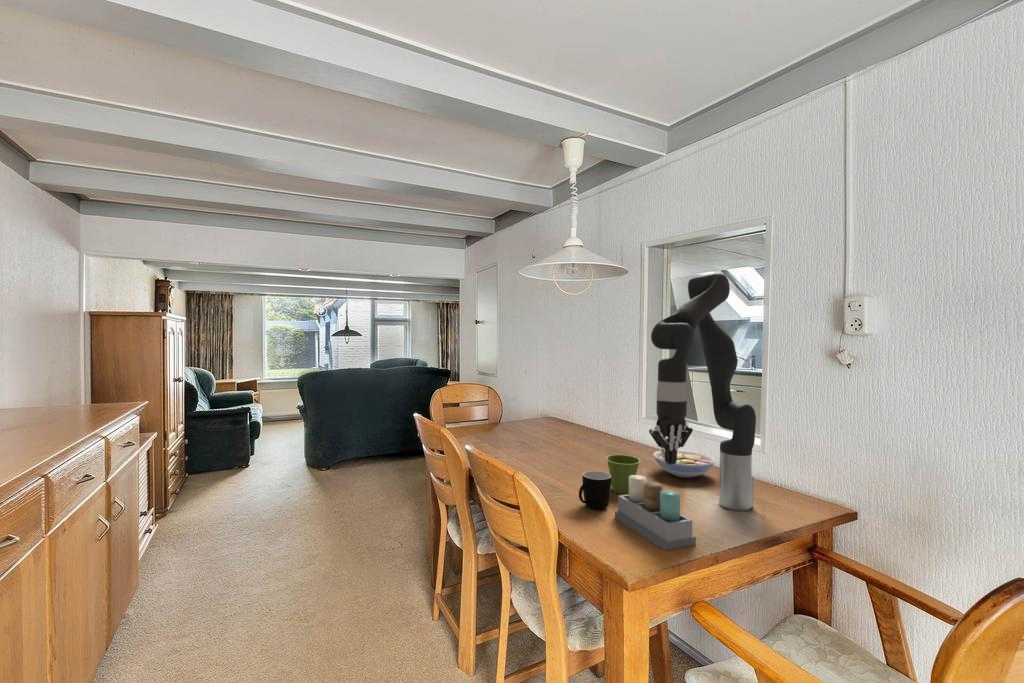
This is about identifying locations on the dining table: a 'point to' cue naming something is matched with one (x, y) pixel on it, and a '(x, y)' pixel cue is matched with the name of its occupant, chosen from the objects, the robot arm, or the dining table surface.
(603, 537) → the dining table surface
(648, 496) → the brown rounded cylinder
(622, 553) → the dining table surface
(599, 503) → the mug
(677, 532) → the grey compartment tray
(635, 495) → the white rounded piece
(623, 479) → the plant pot
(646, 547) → the dining table surface
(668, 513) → the teal rounded cylinder
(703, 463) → the ramen bowl
